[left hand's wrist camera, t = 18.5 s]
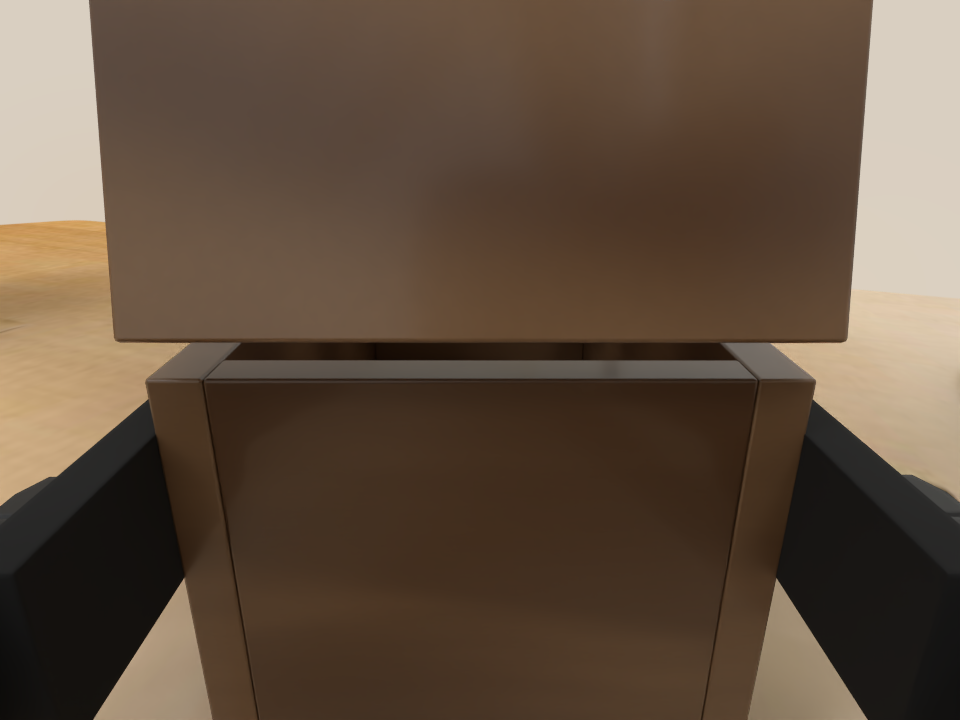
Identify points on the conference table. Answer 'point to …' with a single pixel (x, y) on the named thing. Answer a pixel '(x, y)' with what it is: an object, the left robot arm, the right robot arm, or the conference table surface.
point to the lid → (480, 169)
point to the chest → (480, 525)
